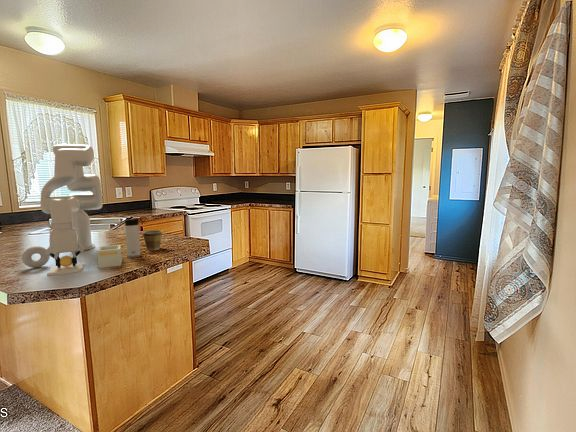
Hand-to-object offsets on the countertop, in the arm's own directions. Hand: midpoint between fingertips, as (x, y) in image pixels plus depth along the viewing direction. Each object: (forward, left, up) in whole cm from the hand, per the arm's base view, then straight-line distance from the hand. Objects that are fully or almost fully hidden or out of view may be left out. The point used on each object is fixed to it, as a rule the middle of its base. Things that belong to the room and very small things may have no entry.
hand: (66, 266), depth 139 cm
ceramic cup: (-26, +36, -2) cm, 44 cm away
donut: (-10, -13, -2) cm, 16 cm away
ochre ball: (0, 0, +2) cm, 2 cm away
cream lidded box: (-1, +17, -2) cm, 17 cm away
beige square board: (0, 0, -2) cm, 2 cm away
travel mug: (-12, +27, -2) cm, 29 cm away
